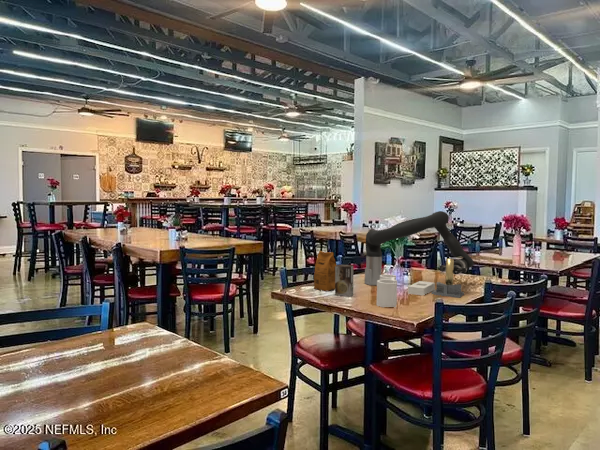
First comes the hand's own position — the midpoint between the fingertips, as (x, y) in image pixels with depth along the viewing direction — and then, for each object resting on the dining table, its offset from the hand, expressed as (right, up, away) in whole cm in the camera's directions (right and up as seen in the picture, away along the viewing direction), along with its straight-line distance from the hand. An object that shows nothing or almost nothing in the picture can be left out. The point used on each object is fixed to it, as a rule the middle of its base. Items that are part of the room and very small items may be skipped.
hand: (449, 270), depth 253 cm
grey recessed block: (-14, -13, +6) cm, 20 cm away
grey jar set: (-39, -14, -21) cm, 46 cm away
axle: (0, -12, +1) cm, 12 cm away
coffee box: (-59, -13, -5) cm, 61 cm away
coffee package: (-69, -12, +10) cm, 71 cm away
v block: (-2, -13, -1) cm, 13 cm away
